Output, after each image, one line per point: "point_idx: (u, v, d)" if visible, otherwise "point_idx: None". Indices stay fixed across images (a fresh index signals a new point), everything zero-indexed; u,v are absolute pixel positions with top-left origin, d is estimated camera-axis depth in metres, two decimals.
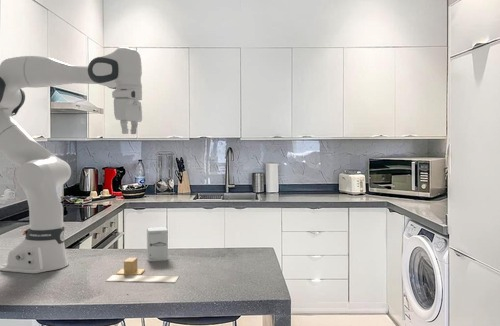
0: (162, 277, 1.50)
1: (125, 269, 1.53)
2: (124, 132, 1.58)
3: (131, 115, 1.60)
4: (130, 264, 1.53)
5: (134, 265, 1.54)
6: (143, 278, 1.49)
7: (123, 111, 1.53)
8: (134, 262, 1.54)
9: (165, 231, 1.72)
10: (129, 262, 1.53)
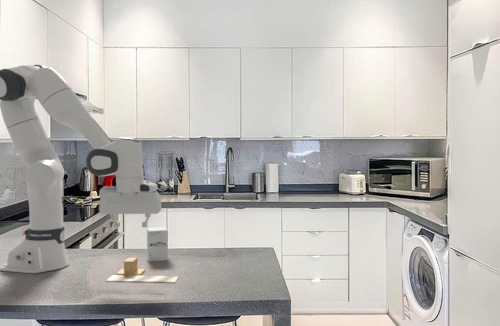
0: (162, 277, 1.50)
1: (125, 269, 1.53)
2: (147, 225, 1.54)
3: None
4: (130, 264, 1.53)
5: (134, 265, 1.54)
6: (143, 278, 1.49)
7: (160, 204, 1.55)
8: (134, 262, 1.54)
9: (165, 231, 1.72)
10: (129, 262, 1.53)
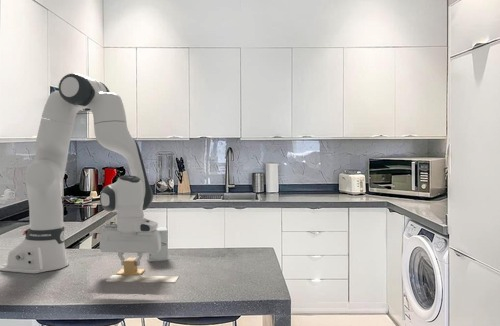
0: (162, 277, 1.50)
1: (125, 269, 1.53)
2: (139, 264, 1.55)
3: None
4: (130, 264, 1.53)
5: None
6: (143, 278, 1.49)
7: (160, 243, 1.56)
8: None
9: (165, 231, 1.72)
10: (129, 262, 1.53)
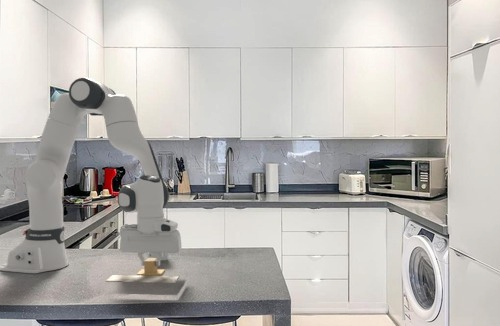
0: (162, 277, 1.50)
1: (145, 270, 1.53)
2: (159, 264, 1.55)
3: None
4: (150, 264, 1.52)
5: (154, 266, 1.54)
6: (143, 278, 1.49)
7: None
8: (154, 262, 1.54)
9: None
10: (149, 262, 1.52)
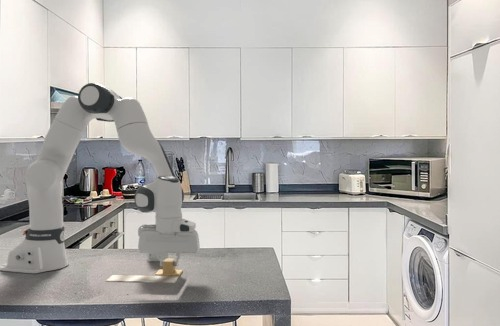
0: (162, 277, 1.50)
1: (164, 270, 1.52)
2: (177, 264, 1.55)
3: None
4: (169, 265, 1.52)
5: (172, 266, 1.54)
6: (143, 278, 1.49)
7: None
8: None
9: None
10: (168, 263, 1.52)
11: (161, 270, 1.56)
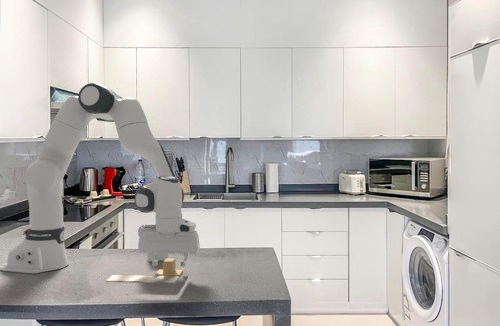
0: (162, 277, 1.50)
1: (164, 270, 1.52)
2: (185, 264, 1.54)
3: None
4: (169, 265, 1.52)
5: (173, 266, 1.54)
6: (143, 278, 1.49)
7: None
8: (173, 263, 1.54)
9: None
10: (168, 263, 1.52)
11: (161, 270, 1.56)
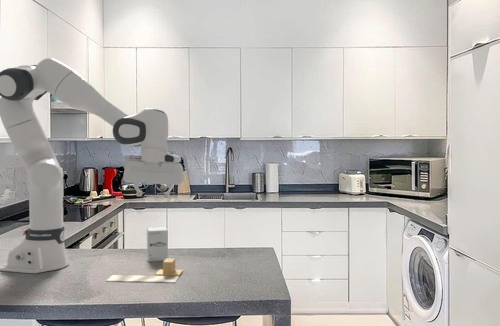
0: (162, 277, 1.50)
1: (164, 270, 1.52)
2: (168, 196, 1.58)
3: None
4: (169, 265, 1.52)
5: (173, 266, 1.54)
6: (143, 278, 1.49)
7: (183, 176, 1.58)
8: (173, 263, 1.54)
9: (165, 231, 1.72)
10: (168, 263, 1.52)
11: (161, 270, 1.56)
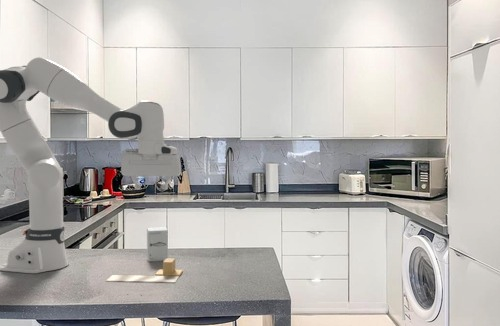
0: (162, 277, 1.50)
1: (164, 270, 1.52)
2: (167, 188, 1.58)
3: None
4: (169, 265, 1.52)
5: (173, 266, 1.54)
6: (143, 278, 1.49)
7: (180, 167, 1.59)
8: (173, 263, 1.54)
9: (165, 231, 1.72)
10: (168, 263, 1.52)
11: (161, 270, 1.56)
